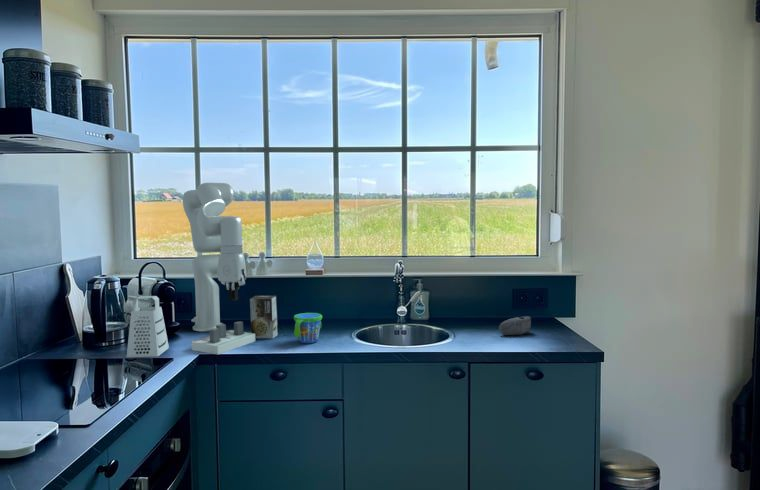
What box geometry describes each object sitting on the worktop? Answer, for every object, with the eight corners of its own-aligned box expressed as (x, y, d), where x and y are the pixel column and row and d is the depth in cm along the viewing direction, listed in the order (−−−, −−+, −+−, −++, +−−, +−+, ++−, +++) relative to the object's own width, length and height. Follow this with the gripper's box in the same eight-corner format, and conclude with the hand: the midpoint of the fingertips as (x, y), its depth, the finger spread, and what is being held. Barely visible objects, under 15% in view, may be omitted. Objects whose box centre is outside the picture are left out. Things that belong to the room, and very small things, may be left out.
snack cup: (310, 335, 193) (310, 310, 192) (331, 338, 187) (331, 312, 187) (284, 344, 179) (283, 317, 179) (306, 348, 174) (305, 320, 173)
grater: (157, 356, 165) (155, 299, 164) (126, 357, 165) (123, 300, 163) (169, 347, 176) (166, 294, 174) (139, 348, 175) (137, 294, 174)
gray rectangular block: (232, 334, 182) (232, 322, 182) (238, 332, 185) (238, 321, 185) (238, 335, 181) (238, 323, 180) (244, 333, 184) (244, 321, 183)
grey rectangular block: (215, 337, 178) (214, 325, 178) (221, 335, 181) (221, 323, 181) (220, 338, 177) (220, 326, 176) (227, 336, 180) (227, 324, 179)
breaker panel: (191, 349, 173) (191, 341, 173) (230, 337, 190) (230, 329, 190) (217, 354, 167) (217, 345, 167) (255, 341, 184) (255, 333, 184)
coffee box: (278, 334, 193) (277, 295, 192) (273, 339, 187) (272, 298, 186) (256, 334, 194) (255, 295, 193) (250, 338, 188) (249, 298, 187)
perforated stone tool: (502, 337, 187) (502, 320, 186) (495, 334, 192) (495, 317, 192) (535, 334, 191) (535, 317, 191) (528, 331, 196) (528, 315, 196)
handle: (208, 342, 171) (208, 329, 171) (215, 339, 174) (214, 327, 174) (214, 343, 170) (214, 330, 170) (221, 340, 173) (220, 328, 173)
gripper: (208, 250, 174) (210, 300, 175) (239, 251, 167) (241, 303, 168) (224, 249, 180) (226, 297, 181) (254, 250, 173) (256, 300, 174)
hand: (233, 300), depth 175 cm, fingers closed
